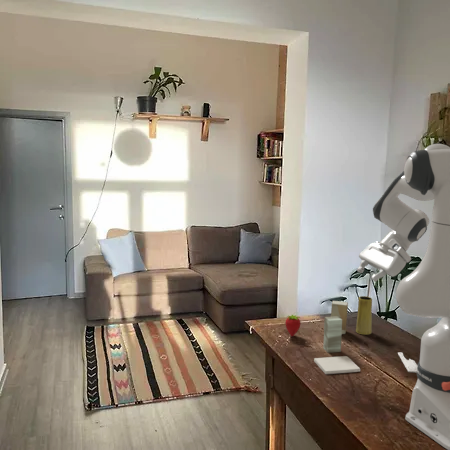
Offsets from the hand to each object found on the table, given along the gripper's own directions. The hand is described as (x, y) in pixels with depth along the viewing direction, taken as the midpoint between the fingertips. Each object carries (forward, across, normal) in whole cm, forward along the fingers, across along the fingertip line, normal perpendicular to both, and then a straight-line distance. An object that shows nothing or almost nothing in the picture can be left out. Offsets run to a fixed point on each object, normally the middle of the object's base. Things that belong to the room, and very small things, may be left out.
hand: (365, 275), depth 164 cm
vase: (+14, -13, +27) cm, 33 cm away
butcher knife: (+13, +16, +26) cm, 33 cm away
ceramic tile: (+30, +13, +6) cm, 34 cm away
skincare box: (+21, -16, +20) cm, 33 cm away
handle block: (+28, +1, +11) cm, 30 cm away
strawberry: (+35, -15, +5) cm, 38 cm away
